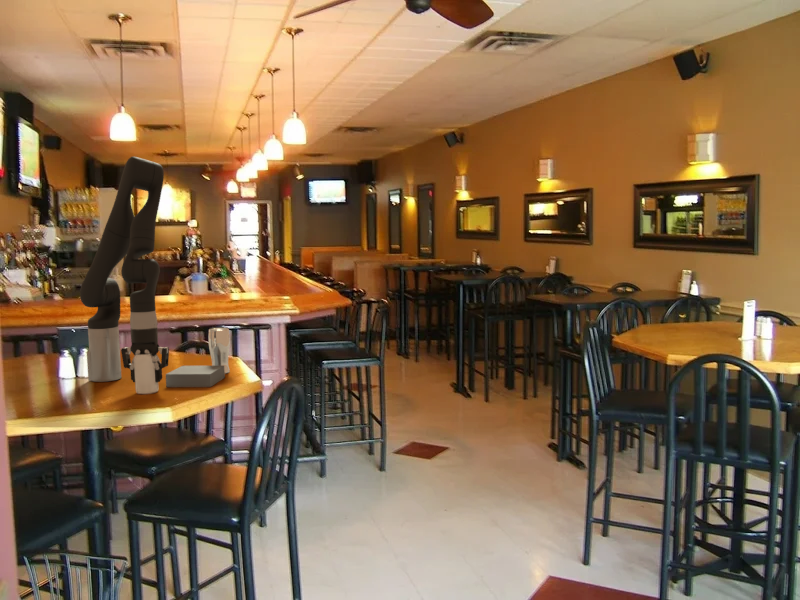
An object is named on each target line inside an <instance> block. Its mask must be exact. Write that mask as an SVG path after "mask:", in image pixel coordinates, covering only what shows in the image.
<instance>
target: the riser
mask: <svg viewBox="0 0 800 600" xmlns="http://www.w3.org/2000/svg"><path fill="white" fill-rule="evenodd" d="M225 375H226V374H225V370H224V366H212V365H181V366H179V367H178V368H176V369H173V370H171V371H170V372H167V373H165V385H166V386H165V387H166V388H212V387H213V386H214V385H215V384H218V383H219V382H221V381H222V380H223V379H225V378H226V377H225Z"/></svg>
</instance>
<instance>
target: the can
mask: <svg viewBox="0 0 800 600" xmlns="http://www.w3.org/2000/svg"><path fill="white" fill-rule="evenodd" d="M151 354H152V353H151ZM134 356H135V355H134ZM157 356H158V355H157ZM157 356H153V357H154V359H157ZM133 358H134V357H133ZM134 369H135V382H134V384H135V393H136V394H138V395H151V394H155V393H157V392H158V391H159V382H156V381H155V370H156V369H155V367H154V363H152V358H151V356H150V354H136V356H135V358H134Z"/></svg>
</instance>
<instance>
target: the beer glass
mask: <svg viewBox="0 0 800 600" xmlns="http://www.w3.org/2000/svg"><path fill="white" fill-rule="evenodd" d="M230 338H231V337H230V329H229V328H228V327H213V328H209V329H208V348H209V354H210V357H211V366H224V370H225V375H226V374H229V373H230V372H231V371H230V367H229V355H230V348H231V339H230Z"/></svg>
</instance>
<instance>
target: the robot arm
mask: <svg viewBox="0 0 800 600" xmlns="http://www.w3.org/2000/svg"><path fill="white" fill-rule="evenodd" d="M164 175H165V173H164V168H163V166H162V164H160V163H157V162H155V161H151V160H148V159H145V158H141V157H137V156H130V157H129V158H128V159H127V160H126V163H125V165H124V168H123V170H122V174H121V178H120V181H119V185H118V188H117V193H116V195H115V199H114V202H113V206H112V209H111V211H110V214H109V215H108V219H107V222H106V223H105V226H104V229H103V233H102V235H101V238H100V242H99V245H98V247H97V249H96V253H95V254H94V258H93V261H92V263H91V264H90V266H89V269H88V271H87V273H86V275H85V277H84V279H83V281H82V284H81V286H80V290H79V298H80V301H81V303H82V305H84V306H85V307H87V308H97V311H96V313H94V315H93V316H91V317H90V318H89V319H88V320H87V335H88V347H89V348H88V351H87V352H86V361H87V365H86V366H87V378H88V381H89V382H95V383H96V382H99V383H100V382H101V383H103V382H111V381H117V380H120V379H122V366H123V368H124V369H129V370H130V380H131V381H132V382H133V383H135V369H134V358H135V356H136V354H150V356H151V358H152V363H154V367H155V369H156V370H155V381H156V382H158V383H160V382H161V381H162V379H163V369H165V368H167V367H168V366H169V360H170V359H169V358H170V357H169V356H170V355H169V354H170V348H169V347H168V346H165V347H164V346H163V347H162V346H160V345H159V336H158V335H159V334H158V333H159V331H158V317H157V313H156V312H157V311H156V310H157V309H156V292H157V291H156V290H157V285H158V282H159V276H160V273H161V269H160V264H159V263H158V261H157V260H156V259H152V258H140V257H142V256H146V255H149V254H152V253H153V252H154V250H155V239H156V238H155V237H156V222H157V217H158V211H159V208H160V207H159V206H160V202H161V201H160V200H161V195H162V191H163V184H164V179H165V176H164ZM134 189H137V190H142V191H146V192H147V193H148V194H147V199H146V202H145V204H144V205H143V206H142V207H141V209H140V210H139V211H138V213H136V215H135V214H134V212H133V207H132V199H131V198H132V192H133V190H134ZM123 259H124V260H123ZM122 260H123V263H122V266H121V272H120V273H121V278H122V279H123V280H124V282H125V283H127V284H146V286H145V288H143V289H141V290H137V291H133V292H131V293H130V295H129V309H130V317H129V323H130V324H129V326H130V343H131V346H130V347H128V346H125V347H123V348H121V347H120V343H121V342H120V333H119V332H120V331H119V330H120V329H119V328H120V327H119V321H120V319H121V290H120V287H119V284H118V281H116V280H115V279H114V278H112V277H109V276H110V274H111V273H112V271H113V270H114V268H115V267H116V266H117V265H119V263H120V262H121V261H122ZM158 352H159V354H160V355H161V358H159V356H158ZM131 353H132V355H134V356H133V358H132V360H131ZM151 353H152V354H151ZM153 356H157V359H154V357H153ZM121 357H122V363H121ZM160 359H161V360H160ZM122 364H123V365H122Z"/></svg>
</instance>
